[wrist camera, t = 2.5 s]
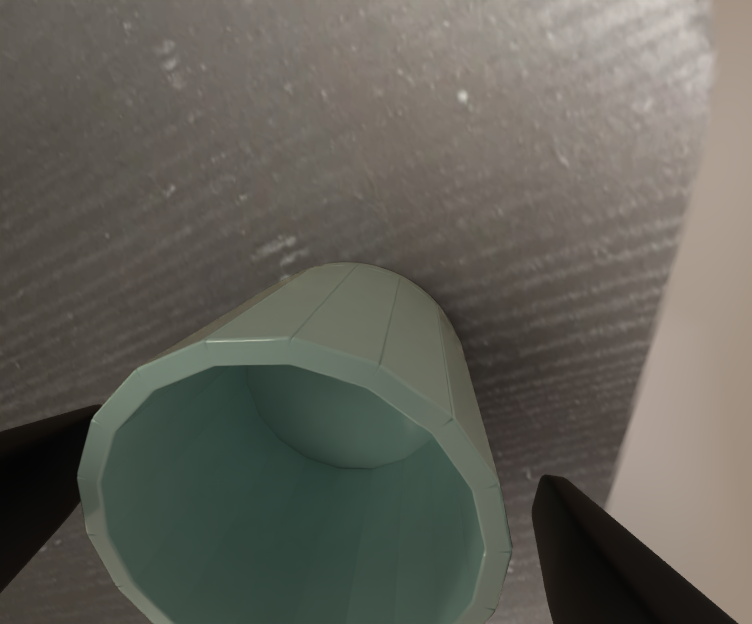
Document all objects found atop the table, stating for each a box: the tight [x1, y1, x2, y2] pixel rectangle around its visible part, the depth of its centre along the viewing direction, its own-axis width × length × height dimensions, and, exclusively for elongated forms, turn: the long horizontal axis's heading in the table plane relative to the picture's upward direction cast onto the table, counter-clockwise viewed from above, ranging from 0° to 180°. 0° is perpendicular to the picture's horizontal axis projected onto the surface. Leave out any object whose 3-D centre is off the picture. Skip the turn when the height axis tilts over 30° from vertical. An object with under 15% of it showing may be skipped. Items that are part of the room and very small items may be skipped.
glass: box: [77, 262, 512, 624], centre depth 9 cm, size 7×7×6 cm
